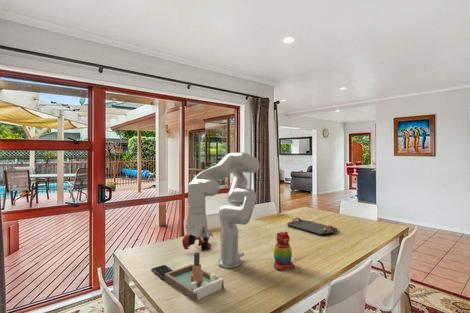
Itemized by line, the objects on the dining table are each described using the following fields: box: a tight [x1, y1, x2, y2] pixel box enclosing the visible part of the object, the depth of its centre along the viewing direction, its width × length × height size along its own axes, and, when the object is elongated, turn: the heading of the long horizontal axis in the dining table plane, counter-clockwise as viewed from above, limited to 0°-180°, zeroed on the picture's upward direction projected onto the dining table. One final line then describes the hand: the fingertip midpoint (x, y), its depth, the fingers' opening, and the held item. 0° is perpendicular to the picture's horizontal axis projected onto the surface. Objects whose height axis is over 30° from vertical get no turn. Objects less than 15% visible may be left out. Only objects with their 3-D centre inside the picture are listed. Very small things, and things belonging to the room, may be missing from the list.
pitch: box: [164, 264, 225, 302], centre depth 118 cm, size 15×24×5 cm, turn 44°
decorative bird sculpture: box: [181, 230, 214, 251], centre depth 163 cm, size 28×9×15 cm
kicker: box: [191, 252, 203, 284], centre depth 116 cm, size 5×2×13 cm, turn 134°
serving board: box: [286, 217, 339, 237], centre depth 207 cm, size 39×23×6 cm, turn 36°
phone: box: [150, 264, 174, 282], centre depth 129 cm, size 8×1×15 cm
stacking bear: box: [273, 231, 296, 272], centre depth 137 cm, size 11×10×18 cm
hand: (197, 247), depth 117 cm, fingers open, 9 cm apart
